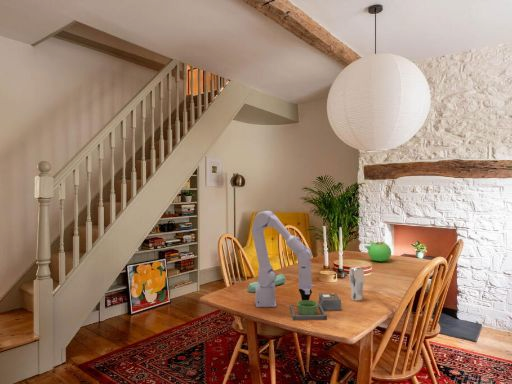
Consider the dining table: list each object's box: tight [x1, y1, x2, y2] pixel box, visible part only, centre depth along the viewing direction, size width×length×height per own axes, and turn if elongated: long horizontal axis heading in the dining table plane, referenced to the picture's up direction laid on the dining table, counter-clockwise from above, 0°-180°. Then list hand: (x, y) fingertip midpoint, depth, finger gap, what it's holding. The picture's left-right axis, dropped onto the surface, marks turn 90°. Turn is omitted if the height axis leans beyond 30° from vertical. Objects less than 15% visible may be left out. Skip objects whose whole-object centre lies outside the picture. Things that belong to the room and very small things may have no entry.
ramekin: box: [296, 299, 319, 315], centre depth 148 cm, size 9×9×4 cm
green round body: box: [364, 240, 392, 263], centre depth 250 cm, size 18×17×15 cm
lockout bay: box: [289, 303, 328, 321], centre depth 147 cm, size 14×14×2 cm
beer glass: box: [348, 266, 365, 302], centre depth 166 cm, size 7×7×15 cm
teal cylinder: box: [247, 273, 286, 293], centre depth 187 cm, size 6×6×25 cm
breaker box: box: [318, 292, 342, 311], centre depth 156 cm, size 8×10×5 cm
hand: (305, 305), depth 153 cm, fingers closed
